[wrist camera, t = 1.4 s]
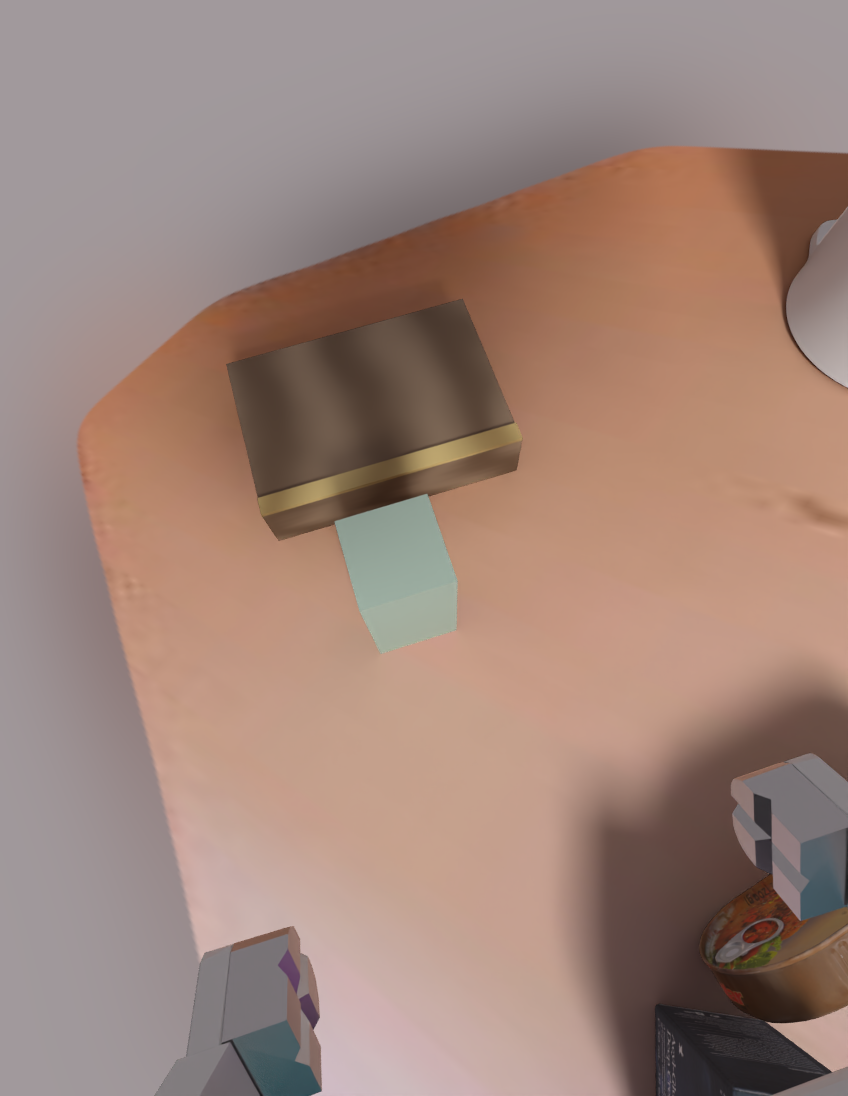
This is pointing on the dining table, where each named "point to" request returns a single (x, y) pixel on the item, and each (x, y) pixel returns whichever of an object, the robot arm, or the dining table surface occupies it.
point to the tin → (778, 957)
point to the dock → (372, 418)
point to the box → (725, 1056)
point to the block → (400, 572)
